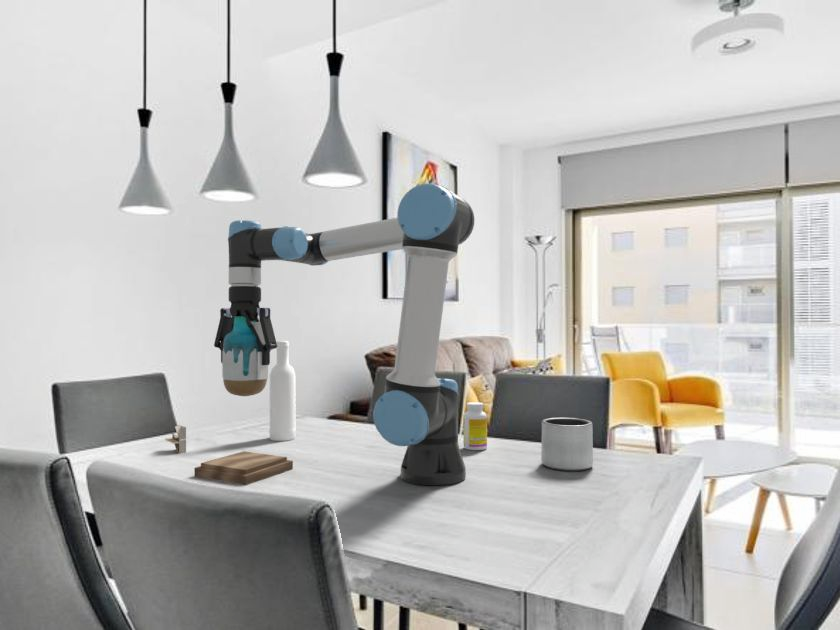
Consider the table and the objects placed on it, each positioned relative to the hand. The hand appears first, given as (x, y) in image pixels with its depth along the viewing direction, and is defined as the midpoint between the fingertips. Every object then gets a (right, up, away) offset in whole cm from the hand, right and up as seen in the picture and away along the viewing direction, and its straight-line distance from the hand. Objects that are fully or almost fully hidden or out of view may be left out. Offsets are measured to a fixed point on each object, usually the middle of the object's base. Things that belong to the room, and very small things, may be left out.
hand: (244, 378), depth 144 cm
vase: (0, -5, 0) cm, 5 cm away
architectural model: (-25, -24, +23) cm, 41 cm away
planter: (+79, -23, +6) cm, 82 cm away
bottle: (0, -23, +41) cm, 47 cm away
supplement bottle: (+58, -23, +26) cm, 67 cm away
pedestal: (0, -23, 0) cm, 23 cm away
